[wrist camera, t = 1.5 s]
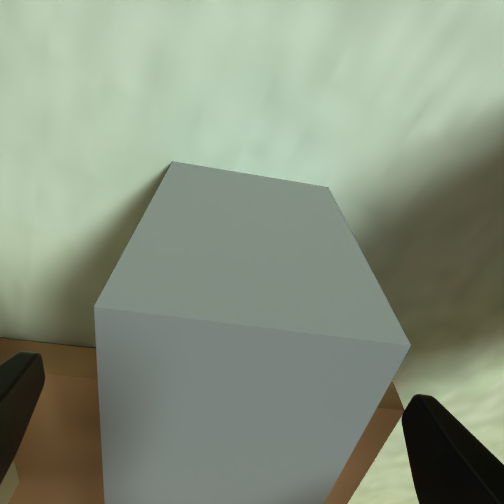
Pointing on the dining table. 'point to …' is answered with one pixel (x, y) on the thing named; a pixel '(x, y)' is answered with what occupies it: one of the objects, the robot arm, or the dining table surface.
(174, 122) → the dining table surface
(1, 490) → the sage tin
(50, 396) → the shelf
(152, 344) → the tea tin
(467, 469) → the robot arm
